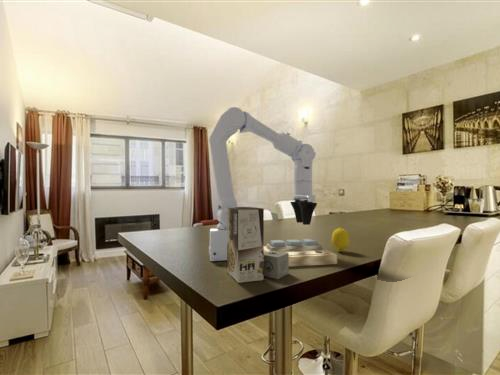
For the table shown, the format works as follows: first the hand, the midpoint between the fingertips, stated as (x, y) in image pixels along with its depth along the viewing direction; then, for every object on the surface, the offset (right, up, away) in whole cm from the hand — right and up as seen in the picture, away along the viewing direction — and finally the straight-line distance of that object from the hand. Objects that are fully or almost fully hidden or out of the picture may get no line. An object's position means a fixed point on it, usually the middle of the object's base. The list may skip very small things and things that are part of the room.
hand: (303, 223), depth 87 cm
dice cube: (-11, -9, -23) cm, 27 cm away
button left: (-9, -6, -7) cm, 13 cm away
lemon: (+12, -10, +1) cm, 16 cm away
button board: (-4, -9, -8) cm, 13 cm away
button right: (+1, -6, -5) cm, 8 cm away
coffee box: (-19, -9, -24) cm, 32 cm away
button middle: (-4, -6, -6) cm, 9 cm away
